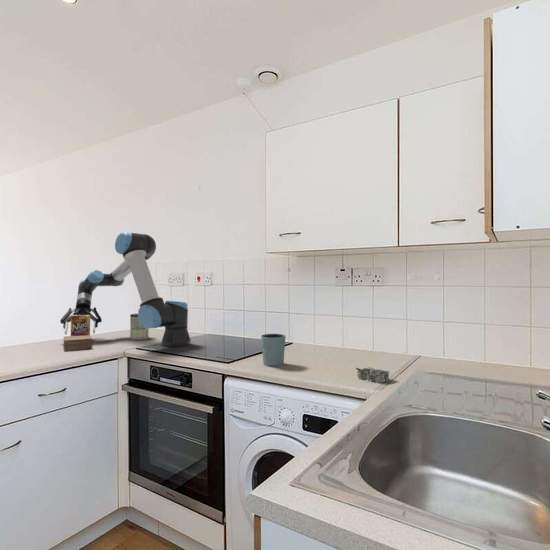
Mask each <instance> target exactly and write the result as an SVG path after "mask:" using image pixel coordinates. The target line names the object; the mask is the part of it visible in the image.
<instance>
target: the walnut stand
mask: <svg viewBox="0 0 550 550" xmlns="http://www.w3.org/2000/svg"><path fill="white" fill-rule="evenodd" d="M90 349H91V350H92V349H93V338H92V337H91V334H90V335H80V336H71V335H69V336H66V335H65V336H63V351H79V350H90Z"/></svg>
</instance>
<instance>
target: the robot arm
mask: <svg viewBox="0 0 550 550" xmlns="http://www.w3.org/2000/svg"><path fill="white" fill-rule="evenodd" d="M114 249H115V252H116V253H117V254H119V255H122V258H123V261H122V262H121V263H120V264H119V265H118V266H117V267H115V269H114V270H112V271H111V272H110V273H103V272H102V271H101V270H98V269H93V270H91V272H89V274H88V275H87V276H86V278H85V279H83V280H81V281H79V283H78V290H77V297H76V303H75V308H71V307H69V308H68V310H67V312H66V313H65V314H64V315H63V316H62V317H61V319H60V324H63V325H62V327H63V329H64V335H65V336H66V335H67V334H68V328H69V323H71V316H72V315H90V320H92V321H93V326H92V334H95V333H96V328H98V326H99V323H102V317H101V315H100V314H99V313H98V311H97V307H93V308H91V307H92V297H93V292H94V291H95V290H96V289H97V287H120V286H123V284H124V282H125V278H126V277H128V276H129V274H132V277H133V281H134V283H135V285H136V288H137V292H138V295H139V298H140V301H141V303H140V304H139V308H138V313H137V314H138V319H139V321H140V323H141V324H142V325H143V326H144V327H146V328H148V329H158V328H163V327H164V332H163V336H162V339H161V346H163V347H170V348H171V347H184V346H185V347H186V346H189V345H191V342H192V341H191V337H190V334H189V330H188V322H189V321H188V318H189V317H188V313H189V312H188V311H189V309H188V304H187V302H185V301H175V300H165V301H164V298H163V297H160V296H159V294H158V291H157V288H156V286H155V283H154V280H153V277H152V275H151V274H152V273H151V270H150V268H149V265H148V263H147V262H148V261H147V260H149V259H151V258H152V257H153V256H154V254H155V252H156V249H157V243H156V240H155V239H154V238H153V237H152V236H151V235H149V234H145V233H137V232H136V233H135V232H130V231H122V232H120V233H119V234H118V235H117V236H116V238H115V242H114ZM92 313H93V314H94V315H95V316H94V315H93V314H92Z"/></svg>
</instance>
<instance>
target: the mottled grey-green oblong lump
mask: <svg viewBox="0 0 550 550" xmlns="http://www.w3.org/2000/svg"><path fill="white" fill-rule="evenodd" d="M355 370H357V372H356V378H357V377H358V379H359V380H366V379H367V380H368V381H367V380H366V381H367V382H374V383H375V382H377V384H381V383H380V382H384V383H385V381H384V380H390V375H389V374H390V372H391V370H382V369H381V368H380V369H377V368H373V367H371V366H369V367H365V368H364V367H363V368H359V367H355ZM370 380H372V381H370Z"/></svg>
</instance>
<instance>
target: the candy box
mask: <svg viewBox="0 0 550 550" xmlns="http://www.w3.org/2000/svg"><path fill="white" fill-rule="evenodd" d="M71 315H72V314H71ZM71 315H70V316H71ZM80 335H90V336H91V318H90V315H72V316H71V321H70V336H80Z"/></svg>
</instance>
